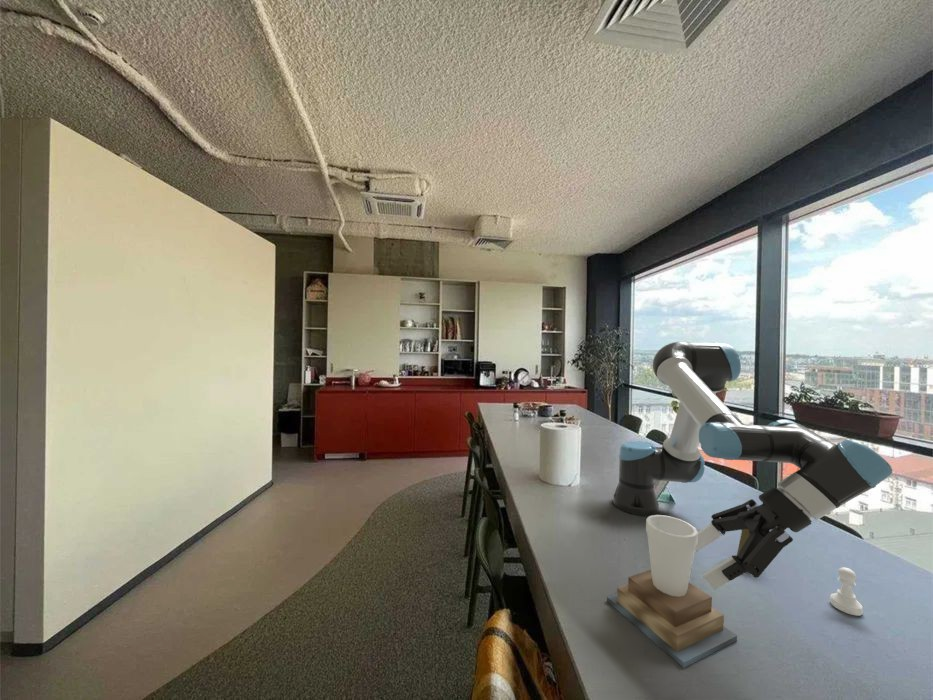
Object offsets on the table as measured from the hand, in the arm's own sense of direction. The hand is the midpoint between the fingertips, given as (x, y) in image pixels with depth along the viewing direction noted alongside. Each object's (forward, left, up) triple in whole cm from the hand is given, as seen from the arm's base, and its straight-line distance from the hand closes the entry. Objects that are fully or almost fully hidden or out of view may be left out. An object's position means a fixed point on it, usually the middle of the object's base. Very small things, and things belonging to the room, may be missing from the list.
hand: (699, 562), depth 72 cm
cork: (-10, +39, -14) cm, 42 cm away
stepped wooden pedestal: (-4, -3, -14) cm, 15 cm away
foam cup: (-4, -3, -7) cm, 9 cm away
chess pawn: (+9, +39, -14) cm, 42 cm away
